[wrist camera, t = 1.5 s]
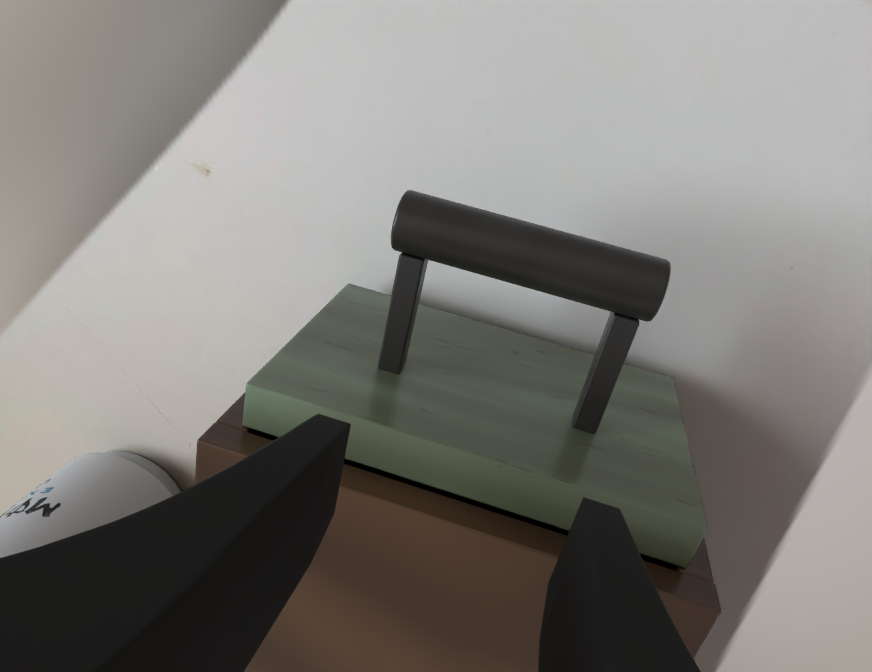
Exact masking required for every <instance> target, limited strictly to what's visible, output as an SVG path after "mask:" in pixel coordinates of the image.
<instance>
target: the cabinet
mask: <svg viewBox="0 0 872 672" xmlns="http://www.w3.org/2000/svg"><path fill="white" fill-rule="evenodd" d="M244 403H245V393H244V394H243V395H242V396H241V397H240V398H239V399H238V400H237V401H236V402H235V403H234V404H233V405H232V406H231V407H230V408H229V409H228V410H227V411H226V412H225V413H224V414H223V415H222V416H221V417H220V418H219V419H218V420H217V421H216V423H214V424H213V425H212V426H211V427H210V428H209V429H208V430H207V431H206V432H205V433H204V434H203V435H202V436H201V437H200V438H199V439H198V441H197V456H196V474H195V485H196V484H198V483H200V482H202V481H203V480H205V479H207V478H209V477H211V476H213V475H215V474H217V473H219V472H221V471H223V470H224V469H226V468H228V467H230V466H232V465H233V464H235V463H237V462H238V461H240V460H242V459H244V458H245V457H247V456H249V455H251V454H252V453H254V452H256V451H258V450H259V449H261V448H263V447H264V446H266V445H267V444H269V443H271V442H272V441H274V440H276V439H277V438H279V437H276V436H273V435H270V434H267V433H264V432H261V431H258V430H255V429H252V428H248V427H245V426H243V413H244ZM566 538H567V535H564V534H561V533H558V532H554V531H551V530H548V529H545V528H542V527H539V526H536V525H533V524H530V523H527V522H523V521H520V520H517V519H514V518H511V517H508V516H505V515H502V514H499V513H496V512H492V511H489V510H486V509H483V508H480V507H477V506H474V505H471V504H468V503H465V502H462V501H458V500H455V499H452V498H449V497H446V496H443V495H440V494H437V493H434V492H431V491H427V490H424V489H421V488H418V487H415V486H412V485H409V484H406V483H403V482H400V481H396V480H393V479H390V478H387V477H384V476H381V475H378V474H375V473H372V472H369V471H365V470H362V469H359V468H356V467H353V466H350V465H347V464H343V470H342V475H341V481H340V486H339V492H338V497H337V503H336V508H335V513H334V515H333V517H332V519H331V522H330V524H329V526H328V528H327V530H326V533H325V535H324V537H323V539H322V541H321V543H320V546H319V548H318V550H317V552H316V554H315V556H314V558H313V560H312V562H311V564H310V566H309V567H308V569H307V571H306V572H305V574H304V576H303V577H302V579H301V580H300V582H299V584H298V585H297V587H296V589H295V590H294V592H293V594H292V595H291V597H290V598H289V600H288V602H287V603H286V605H285V606H284V608H283V610H282V611H281V613H280V615H279V616H278V618H277V619H276V621H275V623H274V624H273V626H272V627H271V629H270V631H269V632H268V634H267V635H266V637H265V639H264V640H263V642H262V644H261V645H260V647H259V648H258V650H257V652H256V653H255V655H254V656H253V658H252V660H251V661H250V663H249V664H248V666H247V668H246V669H245V671H244V672H538V662H539V640H540V633H541V626H542V619H543V612H544V606H545V600H546V594H547V587H548V582H549V580H550V578H551V575H552V573H553V570H554V568H555V565H556V563H557V560H558V558H559V555H560V553H561V551H562V548H563V546H564V543H565V541H566ZM640 555H641V557H642V560H643V562H644V564H645V566H646V568H647V570H648V573H649V575H650V577H651V579H652V581H653V583H654V585H655V587H656V589H657V591H658V593H659V595H660V597H661V599H662V601H663V603H664V605H665V607H666V609H667V611H668V613H669V615H670V617H671V619H672V621H673V623H674V625H675V627H676V629H677V631H678V632H679V634H680V636H681V638H682V640H683V642H684V644H685V645H686V647H687V649H688V651H689V652H690V654H691V656H692V658H694V657H695V655H696V653H697V652H698V650H699V648H700V647H701V645H702V643H703V642H704V640H705V638H706V637H707V635H708V633H709V631H710V630H711V628H712V626H713V625H714V623H715V621H716V620H717V618H718V616H719V615H720V613H721V608H720V604H719V599H718V594H717V590H716V585H715V584H714V583H713V576H712V571H711V566H710V562H709V557H708V553H707V548H706V544H705V539H704V537H703V539H702V541H701V543H700V545H699V547H698V548H697V550H696V552H695V554H694V556H693V558H692V560H691V561H690V563H689V565H688V567H687V568H683V567H680V566H677V565H674V564H671V563H668V562H665V561H662V560H658V559H655V558H652V557H649V556H646V555H643V554H640Z"/></svg>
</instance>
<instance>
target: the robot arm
mask: <svg viewBox="0 0 872 672" xmlns="http://www.w3.org/2000/svg"><path fill="white" fill-rule="evenodd" d="M350 426H351V424H350V423H347V422H344V421H340V420H337V419H334V418H331V417H328V416H325V415H321V414H317V415H315V416H313V417H311V418H309V419H307V420H306V421H304V422H303V423H301V424H299V425H298V426H296V427H295V428H293V429H292V430H290V431H288V432H287V433H285V434H284V435H282V436H280V437H279V438H277V439H276V440H274V441H272V442H271V443H269V444H267V445H266V446H264V447H263V448H261V449H259V450H258V451H256V452H254V453H252V454H251V455H249V456H247V457H245V458H244V459H242V460H240V461H238V462H237V463H235V464H233V465H232V466H230V467H228V468H226V469H224V470H223V471H221V472H219V473H217V474H215V475H213V476H211V477H209V478H207V479H205V480H203V481H202V482H200V483H198V484H196V485H194V486H192V487H190V488H188V489H186V490H184V491H182V492H180V493H178V494H176V495H174V496H172V497H170V498H167V499H165V500H163V501H161V502H159V503H157V504H154V505H152V506H150V507H148V508H145V509H143V510H141V511H138V512H136V513H133V514H131V515H128V516H126V517H123V518H121V519H119V520H116V521H113V522H111V523H108V524H105V525H102V526H99V527H96V528H94V529H91V530H88V531H85V532H82V533H79V534H76V535H73V536H70V537H67V538H64V539H61V540H58V541H55V542H52V543H49V544H46V545H43V546H40V547H37V548H33V549H30V550H27V551H23V552H20V553H16V554H13V555H9V556H5V557H2V558H0V672H244V671H245V669H246V668H247V666H248V664H249V663H250V661H251V660H252V658H253V656H254V655H255V653H256V652H257V650H258V648H259V647H260V645H261V644H262V642H263V640H264V639H265V637H266V635H267V634H268V632H269V631H270V629H271V627H272V626H273V624H274V623H275V621H276V619H277V618H278V616H279V615H280V613H281V611H282V610H283V608H284V606H285V605H286V603H287V602H288V600H289V598H290V597H291V595H292V594H293V592H294V590H295V589H296V587H297V585H298V584H299V582H300V580H301V579H302V577H303V576H304V574H305V572H306V571H307V569H308V567H309V566H310V564H311V562H312V560H313V558H314V556H315V554H316V552H317V550H318V548H319V546H320V543H321V541H322V539H323V537H324V535H325V533H326V530H327V528H328V526H329V524H330V522H331V519H332V517H333V515H334V513H335V508H336V503H337V497H338V492H339V486H340V481H341V475H342V470H343V464H344V459H345V454H346V448H347V443H348V437H349V432H350ZM538 672H700V670H699V668H698V666H697V665H696V663H695V661H694V659H693V658H692V656H691V654H690V652H689V651H688V649H687V647H686V645H685V644H684V642H683V640H682V638H681V636H680V634H679V632H678V631H677V629H676V627H675V625H674V623H673V621H672V619H671V617H670V615H669V613H668V611H667V609H666V607H665V605H664V603H663V601H662V599H661V597H660V595H659V593H658V591H657V589H656V587H655V585H654V583H653V581H652V579H651V577H650V575H649V573H648V570H647V568H646V566H645V564H644V562H643V560H642V557H641V555H640V553H639V551H638V548H637V546H636V544H635V542H634V539H633V537H632V535H631V533H630V530H629V528H628V526H627V523H626V521H625V519H624V517H623V515H622V513H621V511H620V509H619V508H616V507H613V506H610V505H607V504H604V503H600V502H597V501H594V500H591V499H588V498H585V497H583V499H582V501H581V504H580V506H579V509H578V511H577V514H576V516H575V519H574V521H573V523H572V526H571V528H570V531H569V533H568V536H567V538H566V541H565V543H564V546H563V548H562V551H561V553H560V555H559V558H558V560H557V563H556V565H555V568H554V570H553V573H552V575H551V578H550V580H549V582H548V587H547V594H546V600H545V606H544V612H543V619H542V626H541V633H540V640H539V662H538Z"/></svg>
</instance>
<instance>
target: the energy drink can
mask: <svg viewBox="0 0 872 672" xmlns="http://www.w3.org/2000/svg"><path fill="white" fill-rule="evenodd" d="M180 492H181V491H180V489H179V488H178V486H177V484H176V483H175V482H174V481H173V479H172V478H171V477H170V476H169V475H168V474H167V473H166V472H165V471H164V470H162V469H161V468H160V467H159V466H157V465H156V464H154V463H153V462H151V461H150V460H148V459H146V458H144V457H141V456H139V455H136V454H133V453H129V452H123V451H111V452H106V453H89V454H84V455H81V456H78V457H75V458H74V459H72V460H71V461H69V462H68V463H67V464H65V465H64V466H63V467H62V468H60V469H59V470H58V471H57V472H55V473H54V474H53V475H52V476H50V477H49V478H48V479H47V480H45V481H44V482H43V483H42V484H40V485H39V486H38V487H36V488H35V489H34V490H33V491H31V492H30V493H29V494H28V495H26V496H25V497H24V498H23V499H21V500H20V501H19V502H18V503H16V504H15V505H14V506H13V507H11V508H10V509H9V510H8V511H6V512H5V513H4V514H3V515H1V516H0V558H2V557H5V556H9V555H13V554H16V553H20V552H23V551H27V550H30V549H33V548H37V547H40V546H43V545H46V544H49V543H52V542H55V541H58V540H61V539H64V538H67V537H70V536H73V535H76V534H79V533H82V532H85V531H88V530H91V529H94V528H96V527H99V526H102V525H105V524H108V523H111V522H113V521H116V520H119V519H121V518H123V517H126V516H128V515H131V514H133V513H136V512H138V511H141V510H143V509H145V508H148V507H150V506H152V505H154V504H157V503H159V502H161V501H163V500H165V499H167V498H170V497H172V496H174V495H176V494H178V493H180Z"/></svg>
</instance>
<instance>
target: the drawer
mask: <svg viewBox="0 0 872 672" xmlns="http://www.w3.org/2000/svg"><path fill="white" fill-rule="evenodd" d="M391 246H392V248H393V249H394V250H396V251H399V252H402V253H401V254H400V256H399V260H398V265H397V270H396V275H395V280H394V285H393V290H392V295H391V296H390V295H387V294H383V293H380V292H376V291H373V290H369V289H366V288H363V287H359V286H356V285H352V284H347V285H346V286H345V287H344V288H343V289H342V290H341V291H340V292H339V293H338V294H337V295H336V296H335V297H334V298H333V299H332V300H331V301H330V302H329V303H328V304H327V305H326V306H325V307H324V308H323V309H322V310H321V311H320V312H319V313H318V314H317V315H316V316H315V317H314V318H313V319H312V320H311V321H310V322H309V323H308V324H306V325H305V326H304V327H303V328H302V329H301V330H300V331H299V332H298V333H297V334H296V335H295V336H294V337H293V338H292V339H291V340H290V341H289V342H288V343H287V344H286V345H285V346H284V347H283V348H282V349H281V350H280V351H279V352H278V353H277V354H276V355H275V356H274V357H273V358H272V359H271V360H270V361H269V362H268V363H267V364H266V365H265V366H264V367H263V368H262V369H261V370H260V371H259V372H258V373H257V374H255V375H254V376H253V377H252V378H251V379H250V380H249V381H248V382H247V384H246V392H245V403H244V413H243V426H245V427H248V428H252V429H255V430H258V431H261V432H264V433H267V434H270V435H273V436H276V437H280V436H282V435H284V434H285V433H287V432H288V431H290V430H292V429H293V428H295V427H296V426H298V425H299V424H301V423H303V422H304V421H306V420H307V419H309V418H311V417H313V416H315V415H317V414H321V415H325V416H328V417H331V418H334V419H337V420H340V421H344V422H347V423H350V424H351V426H350V432H349V437H348V443H347V448H346V454H345V459H344V464H347V465H350V466H353V467H356V468H359V469H362V470H365V471H369V472H372V473H375V474H378V475H381V476H384V477H387V478H390V479H393V480H396V481H400V482H403V483H406V484H409V485H412V486H415V487H418V488H421V489H424V490H427V491H431V492H434V493H437V494H440V495H443V496H446V497H449V498H452V499H455V500H458V501H462V502H465V503H468V504H471V505H474V506H477V507H480V508H483V509H486V510H489V511H492V512H496V513H499V514H502V515H505V516H508V517H511V518H514V519H517V520H520V521H523V522H527V523H530V524H533V525H536V526H539V527H542V528H545V529H548V530H551V531H554V532H558V533H561V534H564V535H567V536H568V533H569V531H570V528H571V526H572V523H573V521H574V519H575V516H576V514H577V511H578V509H579V506H580V504H581V501H582V499H583V497H585V498H588V499H591V500H594V501H597V502H600V503H604V504H607V505H610V506H613V507H616V508H619V509H620V511H621V513H622V515H623V517H624V519H625V521H626V523H627V526H628V528H629V530H630V533H631V535H632V537H633V539H634V542H635V544H636V546H637V548H638V551H639V553H640V554H643V555H646V556H649V557H652V558H655V559H658V560H662V561H665V562H668V563H671V564H674V565H677V566H680V567H683V568H687V567H688V565H689V563H690V561H691V560H692V558H693V556H694V554H695V552H696V550H697V548H698V547H699V545H700V543H701V541H702V539H703V537H704V535H705V533H706V532H707V530H708V526H707V522H706V518H705V513H704V509H703V505H702V500H701V496H700V492H699V487H698V483H697V479H696V474H695V470H694V466H693V461H692V457H691V453H690V448H689V444H688V440H687V435H686V431H685V427H684V422H683V418H682V413H681V409H680V405H679V400H678V396H677V392H676V387H675V383H674V379H673V378H672V377H668V376H665V375H661V374H658V373H654V372H651V371H648V370H644V369H641V368H637V367H634V366H630V365H627V364H624V361H625V359H626V356H627V354H628V351H629V349H630V346H631V344H632V341H633V339H634V336H635V333H636V331H637V328H638V326H639V319H640V320H643V321H651V320H652V319H653V318H654V316H655V315H656V314H657V312H658V310H659V308H660V306H661V304H662V301H663V299H664V296H665V293H666V290H667V286H668V282H669V278H670V262H669V261H667V260H666V259H662V258H658V257H655V256H651V255H647V254H643V253H640V252H636V251H632V250H629V249H625V248H621V247H618V246H614V245H610V244H607V243H603V242H599V241H596V240H592V239H588V238H585V237H581V236H577V235H574V234H570V233H566V232H563V231H559V230H555V229H552V228H548V227H544V226H541V225H537V224H533V223H530V222H526V221H522V220H518V219H515V218H511V217H507V216H504V215H500V214H496V213H493V212H489V211H485V210H482V209H478V208H474V207H471V206H467V205H463V204H460V203H456V202H452V201H449V200H445V199H441V198H438V197H434V196H430V195H427V194H423V193H419V192H416V191H412V190H409V191H406V192H405V193H404V195H403V197H402V198H401V200H400V202H399V205H398V208H397V211H396V214H395V217H394V221H393V226H392V232H391ZM428 260H431V261H435V262H438V263H442V264H445V265H449V266H452V267H456V268H459V269H463V270H467V271H470V272H474V273H477V274H481V275H484V276H488V277H491V278H495V279H498V280H502V281H505V282H509V283H512V284H516V285H520V286H523V287H527V288H530V289H534V290H537V291H541V292H544V293H548V294H551V295H555V296H558V297H562V298H565V299H569V300H573V301H576V302H580V303H583V304H587V305H590V306H594V307H597V308H601V309H604V310H608V311H611V313H610V316H609V318H608V321H607V324H606V326H605V329H604V332H603V335H602V337H601V340H600V343H599V345H598V348H597V351H596V353H595V355H593V354H589V353H586V352H582V351H579V350H576V349H572V348H569V347H565V346H562V345H558V344H555V343H551V342H548V341H545V340H541V339H538V338H534V337H531V336H527V335H524V334H521V333H517V332H514V331H510V330H507V329H503V328H500V327H497V326H493V325H490V324H486V323H483V322H479V321H476V320H472V319H469V318H466V317H462V316H459V315H455V314H452V313H448V312H445V311H442V310H438V309H435V308H431V307H428V306H424V305H421V304H419V299H420V295H421V290H422V286H423V281H424V277H425V272H426V268H427V263H428Z"/></svg>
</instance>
